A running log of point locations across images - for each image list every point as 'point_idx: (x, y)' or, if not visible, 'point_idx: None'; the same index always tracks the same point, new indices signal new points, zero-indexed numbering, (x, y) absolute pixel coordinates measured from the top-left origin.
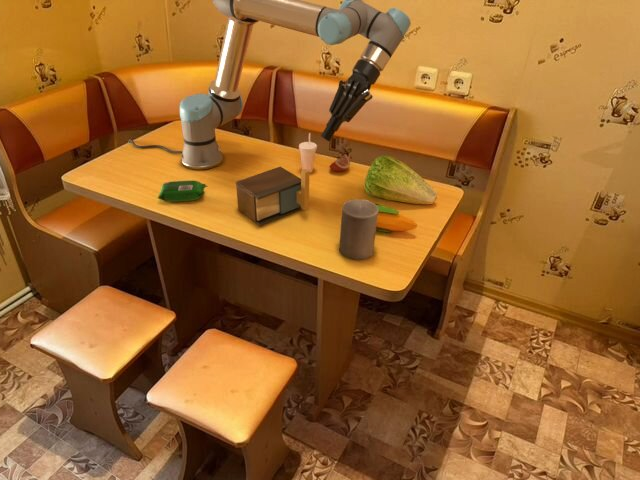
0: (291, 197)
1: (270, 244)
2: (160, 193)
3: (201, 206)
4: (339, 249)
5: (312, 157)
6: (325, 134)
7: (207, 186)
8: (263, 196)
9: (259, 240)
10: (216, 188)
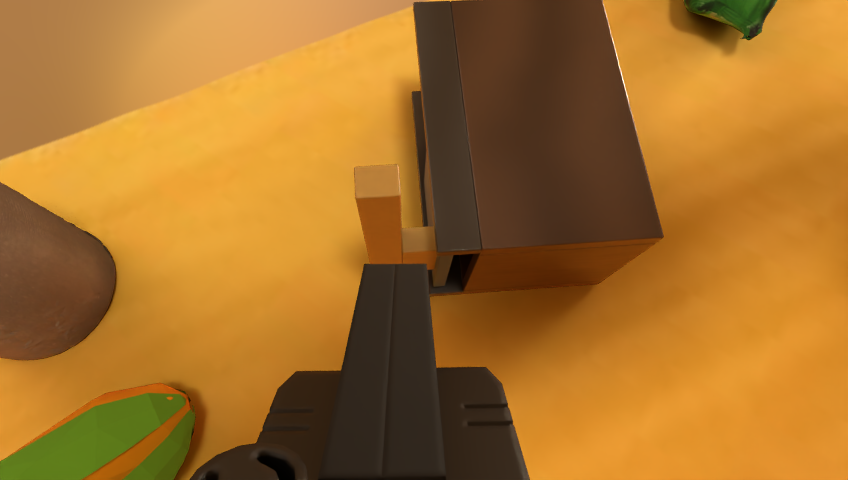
0: (431, 204)
1: (294, 72)
2: None
3: (640, 9)
4: (94, 237)
5: None
6: (362, 282)
7: (742, 38)
8: (415, 26)
9: (337, 57)
10: (751, 97)
